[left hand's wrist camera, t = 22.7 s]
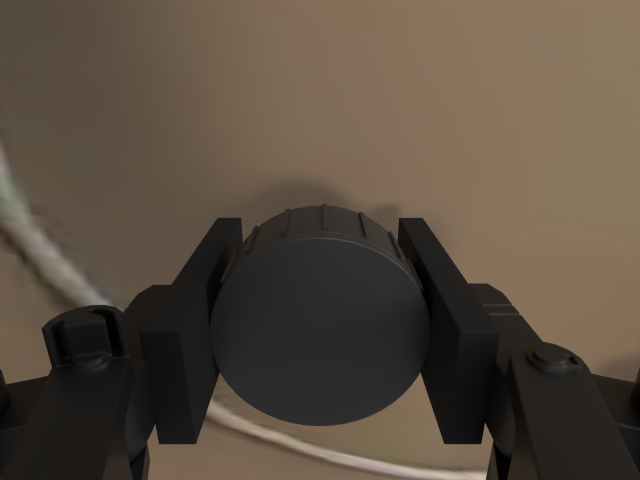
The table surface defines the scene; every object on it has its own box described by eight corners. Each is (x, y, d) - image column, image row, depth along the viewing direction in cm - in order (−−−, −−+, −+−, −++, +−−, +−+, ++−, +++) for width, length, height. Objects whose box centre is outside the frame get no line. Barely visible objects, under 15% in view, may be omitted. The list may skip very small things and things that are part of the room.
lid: (444, 324, 13) (470, 377, 10) (287, 395, 14) (281, 457, 11) (361, 166, 11) (371, 190, 9) (188, 260, 12) (159, 302, 10)
